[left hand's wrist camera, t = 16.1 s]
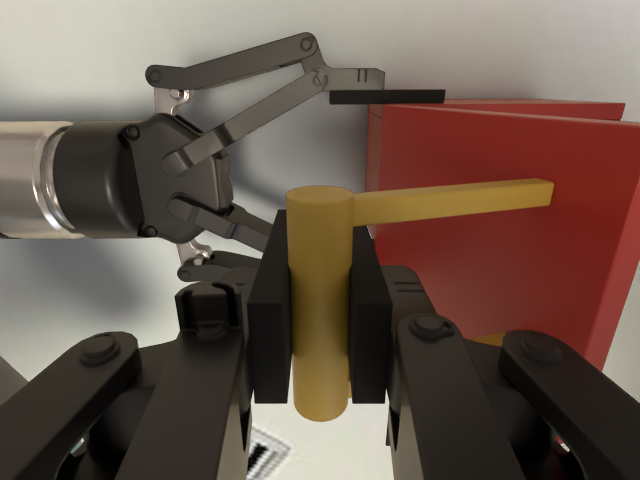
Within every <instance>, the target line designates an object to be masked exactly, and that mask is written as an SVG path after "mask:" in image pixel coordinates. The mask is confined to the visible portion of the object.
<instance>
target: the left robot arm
mask: <svg viewBox="0 0 640 480" xmlns="http://www.w3.org/2000/svg"><path fill="white" fill-rule="evenodd" d="M175 302H176V308H177V314H178V320H179V326H180V332H179V334H178V337H177V339H176V340H173V341H170V342H166V343H163V344H158V345H153V346H148V347H143V348H139V346H138V342H137V339H136V338H135V337H134V336H133V335H132V334H129V333H126V332H105V333H100V334H96V335H94V336H92V337H89V338H87V339H84V340H82V341H80V342H79V343H77V344H76V345H74V346H73V347H71V348H70V349H69V350H67V351H66V352H65V353H64V354H62V355H61V356H60V357H59V358H58V359H56V360H55V361H54V362H53V363H52V364H50V365H49V366H48V367H47V368H45V369H44V370H43V371H42V372H41V373H39V374H38V375H37V376H36V377H35V378H33V379H32V380H31V381H30V382H29V383H27V384H26V385H25V386H24V387H22V388H21V389H20V390H19V391H18V392H16V393H15V394H14V395H13V396H12V397H10V398H9V399H8V400H7V401H6V402H4V403H3V404H2V405H1V406H0V480H246V474H247V465H248V455H249V446H250V436H251V427H252V414H251V398H252V394H253V389H254V399H255V404H277V403H287V399H288V389H289V379H290V370H291V360H292V333H291V305H290V277H289V264H288V239H287V214H286V210H278V212H277V215H276V218H275V221H274V224H273V227H272V230H271V233H270V236H269V239H268V242H267V244H266V247H265V250H264V253H263V256H262V259H261V262H260V265H259V267H233V268H232V269H230V270H229V271H228V272H226V273H225V274H223V276H222V278H221V280H207V281H200V282H197V283H194V284H191V285H188V286H187V287H185V288H183V289H181V290H180V291H179V292H178V293H177V294H176V295H175ZM348 364H349V373H350V383H351V393H352V402H353V404H385V394H386V389H387V393H388V398H389V414H388V425H387V436H386V446H391V455H392V464H393V474H394V480H640V403H639V402H637V401H636V400H635V399H634V398H633V397H631V396H630V395H629V394H628V393H626V392H625V391H624V390H623V389H622V388H620V387H619V386H618V385H617V384H615V383H614V382H613V381H612V380H611V379H609V378H608V377H607V376H606V375H604V374H603V373H602V372H601V371H600V370H598V369H597V368H596V367H595V366H593V365H592V364H591V363H590V362H589V361H587V360H586V359H585V358H584V357H582V356H581V355H580V354H579V353H578V352H576V351H575V350H574V349H573V348H571V347H570V346H569V345H567V344H566V343H564V342H563V341H561V340H559V339H558V338H555V337H553V336H550V335H548V334H546V333H543V332H539V331H538V332H537V331H534V330H515V331H511V332H508V333H507V334H506V335H505V336H504V337H503V340H502V344H501V347H500V346H495V345H490V344H485V343H480V342H476V341H472V340H468V339H466V338H463V336H462V334H461V331H460V330H459V328H458V327H457V326H456V324H455V323H454V322H452V321H451V320H449V319H447V318H446V317H443V316H441V315H438V314H437V312H436V310H435V308H434V306H433V305H432V303H431V301H430V299H429V297H428V295H427V293H426V292H425V289H424V287H423V285H422V284H421V281H420V280H419V278H418V276H417V274H416V273H415V272H414V271H412V270H411V269H410V268H408V267H407V266H405V265H380V263H379V261H378V258H377V255H376V252H375V249H374V246H373V243H372V240H371V237H370V234H369V231H368V228H367V226H357V227H353V242H352V265H351V270H350V301H349V332H348ZM557 436H558V437H559V438H560V439H561V440H562V441H563V442H564V444H565V445H566V446H567V447H568V448H569V449H570V451H569V452H567V451H566V450H565V449H564V448H563V447H562V446H561V445H560V444H559V443H558V441H557V440H556V437H557ZM82 438H83V439H84V442H83V443H82V444H81V446H80V447H79V448H78V449H77V450H75V451H74V452H73V453H72V454H71V453H70V452H71V451H72V449H73V448H74V447H75V446H76V445H77V444H78V442H79V441H80V440H81V439H82Z"/></svg>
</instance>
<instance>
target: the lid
mask: <svg viewBox="0 0 640 480" xmlns="http://www.w3.org/2000/svg"><path fill="white" fill-rule="evenodd" d="M286 214H287V239H288V264H289V277H290V305H291V333H292V368H293V393H294V405H295V408H296V410H297V411H298V412H299V414H300V415H302V416H303V417H304V418H306V419H309V420H312V421H317V422H325V421H330V420H333V419H335V418H337V417H339V416H340V415H341V414H342V413H343V412H344V410H345V409H346V407H347V404H348V398H352V393H351V383H350V373H349V364H348V332H349V301H350V270H351V265H352V242H353V227H357V226H367V225H376V224H377V225H376V244H375V252H376V255H377V258H378V261H379V263H380V265H405V266H407V267H408V268H410V269H411V270H412V271H414V272H415V273H416V274H417V276H418V278H419V280H420V281H421V284H422V285H423V287H424V289H425V292H426V293H427V295H428V297H429V299H430V301H431V303H432V305H433V306H434V308H435V310H436V312H437V314H438V315H441V316H443V317H446V318H447V319H449V320H451V321H452V322H454V323H455V324H456V326H457V327H458V328H459V330H460V331H461V334H462V336H463V338H466V339H468V340H472V341H476V342H480V343H485V344H490V345H495V346H500V347H501V344H502V340H503V337H504V336H505V335H506V334H507V333H508V332H511V331H515V330H534V331H537V332H538V331H539V332H543V333H546V334H548V335H550V336H553V337H555V338H558V339H559V340H561V341H563V342H564V343H566V344H567V345H569V346H570V347H571V348H573V349H574V350H575V351H576V352H578V353H579V354H580V355H581V356H582V357H584V358H585V359H586V360H587V361H589V362H590V363H591V364H592V365H593V366H595V367H596V368H597V369H598V370H600V371H601V372H602V369H603V367H604V364H605V361H606V358H607V355H608V352H609V349H610V346H611V343H612V340H613V337H614V334H615V331H616V328H617V325H618V322H619V319H620V316H621V313H622V310H623V307H624V304H625V301H626V299H627V296H628V293H629V290H630V287H631V284H632V281H633V278H634V275H635V272H636V269H637V266H638V263H639V260H640V123H638V122H625V121H611V120H598V119H584V118H571V117H558V116H544V115H531V114H517V113H504V112H490V111H477V110H463V109H450V108H436V107H423V106H410V105H383V113H382V132H381V151H380V169H379V188H378V191H376V192H364V193H352V192H351V191H350V190H347V189H344V188H341V187H335V186H306V187H300V188H296V189H293V190H290V191H289V192H287V194H286ZM556 440H557V441H558V443H559V444H562V443H564V442H563V441H562V440H561V439H560V438H559V437H558V436H557V437H556Z"/></svg>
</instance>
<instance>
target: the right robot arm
mask: <svg viewBox="0 0 640 480" xmlns="http://www.w3.org/2000/svg"><path fill="white" fill-rule="evenodd" d="M300 62H301V63H302V66H303V69H304V71H305V75H304V76H302V77H300V78H299V79H297V80H295V81H294V82H292V83H290V84H289V85H287V86H285V87H284V88H282V89H280V90H279V91H277V92H275V93H274V94H272V95H270V96H269V97H267V98H265V99H263V100H262V101H260V102H258V103H257V104H255V105H253V106H252V107H250V108H248V109H247V110H245V111H243V112H242V113H240V114H238V115H237V116H235V117H233V118H232V119H230V120H228V121H227V122H225V123H223V124H221V125H220V126H218V127H216V128H214V129H212V130H211V131H209V132H207V133H204V132H203V131H201V130H200V129H198V128H197V127H196V126H194V125H193V124H191V123H190V122H188V121H187V120H185V119H184V118H182V117H181V116H179V115H178V114H177V111H178V108H179V107H180V106H181V105H182V104H186V103H189V102H191V101H192V100H193V98H194V90H205V89H210V88H214V87H217V86H221V85H224V84H228V83H231V82H235V81H238V80H241V79H245V78H248V77H252V76H255V75H259V74H262V73H265V72H269V71H272V70H276V69H279V68H283V67H286V66H290V65H293V64H296V63H300ZM145 76H146V80H147V82H148V83H149V84H150V85H151V86H152V87H154V94H155V109H156V114H154V115H152V116H150V117H149V118H147V119H145V120H142V121H80V122H77V123H75V124H74V123H71V122H68V121H17V122H0V239H22V238H27V239H80V238H84V237H86V236H87V237H89V238H96V239H101V238H151V237H158V238H163V239H165V240H168V241H170V242H172V243H175V244H176V245H177V249H178V253H179V256H180V260H181V264H182V265H181V267H180V268H179V269H178V271H177V276H178V278H179V279H180V280H181V281H184V282H195V281H206V280H221V278H222V276H223V274H225V273H226V272H228V271H229V270H230V269H232V268H233V267H259V265H260V262H261V259H258V258H253V257H249V256H245V255H240V254H236V253H231V252H226V251H212V249H211V247H210V246H209V245H201V244H199V243H198V242H196V240H195V237H196V236H198V235H199V234H200V233H202V232H203V231H204V230H208V231H210V232H212V233H214V234H216V235H219V236H221V237H223V238H226V239H235V240H237V241H239V242H241V243H243V244H246V245H248V246H250V247H252V248H254V249H256V250H258V251H260V252H263V253H264V250H265V247H266V244H267V242H268V239H269V236H270V233H271V230H272V227H273V225H272V224H270V223H268V222H266V221H264V220H262V219H260V218H258V217H256V216H254V215H252V214H250V213H248V212H246V210H245V209H244V208H242V207H241V206H239V205H237V204H235V203H233V202H232V200H233V189H232V186H231V183H230V181H229V178H228V176H229V170H230V157H229V154H227V153H226V151H225V149H224V148H225V147H227V146H228V145H230V144H232V143H233V142H235V141H237V140H239V139H240V138H242V137H244V136H245V135H247V134H249V133H251V132H252V131H254V130H256V129H257V128H259V127H261V126H263V125H264V124H266V123H268V122H269V121H271V120H273V119H275V118H276V117H278V116H280V115H281V114H283V113H285V112H287V111H288V110H290V109H292V108H294V107H295V106H297V105H299V104H300V103H302V102H304V101H306V100H307V99H309V98H311V97H312V96H314V95H316V94H318V93H319V92H321V91H329V103H330V104H331V105H333V104H409V103H444V98H445V90H384V79H385V72H383V71H381V70H379V69H377V68H359V69H358V68H354V69H335V68H331V67H329V66H327V65H326V64H325V62H324V61H323V58H322V55H321V52H320V49H319V46H318V43H317V40H316V38H315V36H314V35H313V34H311V33H308V32H305V33H300V34H297V35H294V36H290V37H287V38H284V39H280V40H277V41H274V42H270V43H267V44H264V45H260V46H257V47H253V48H250V49H247V50H243V51H240V52H237V53H233V54H230V55H227V56H223V57H220V58H217V59H213V60H210V61H207V62H203V63H200V64H196V65H193V66H190V67H186V68H183V67H173V66H163V65H151V66H149V67H148V68H147V70H146V73H145ZM371 240H372V243H373V246H374V249H375V245H374V242H373V239H371ZM27 383H29V382H28V381H27V380H26V379H25V378H24V377H23V376H22V375H20V374H19V373H18V372H17V371H16V370H15V369H14V368H13V367H12V366H11V365H10V364H9V363H8V362H6V361H5V360H4V359H3V358H2V357H1V356H0V406H1V405H2V404H3V403H4V402H6V401H7V400H8V399H9V398H10V397H12V396H13V395H14V394H15V393H16V392H18V391H19V390H20V389H21V388H22V387H24V386H25V385H26V384H27ZM81 444H82V442H81V440H80V441H79V442H78V444H77V445H76V446H75V447H74V448H73V449H72V451H71V452H70V453H71V454H72V453H73V452H74V451H75V450H77V449H78V448H79V447H80V446H81Z"/></svg>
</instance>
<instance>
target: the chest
mask: <svg viewBox="0 0 640 480" xmlns="http://www.w3.org/2000/svg"><path fill="white" fill-rule="evenodd" d="M383 105H410V106H423V107H436V108H450V109H463V110H477V111H490V112H504V113H517V114H531V115H544V116H558V117H571V118H584V119H598V120H611V121H621V120H620V119H621V118H622V115H623V111H624V107H625V103H609V102H588V101H566V100H545V99H444V103H409V104H369V105H368V130H367V154H366V179H365V192H376V191H378V188H379V169H380V151H381V132H382V113H383ZM376 225H377V224H376ZM376 225H368V227H369V230H370V233H371V236H372V239H373V242H374V245H375V244H376Z"/></svg>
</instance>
